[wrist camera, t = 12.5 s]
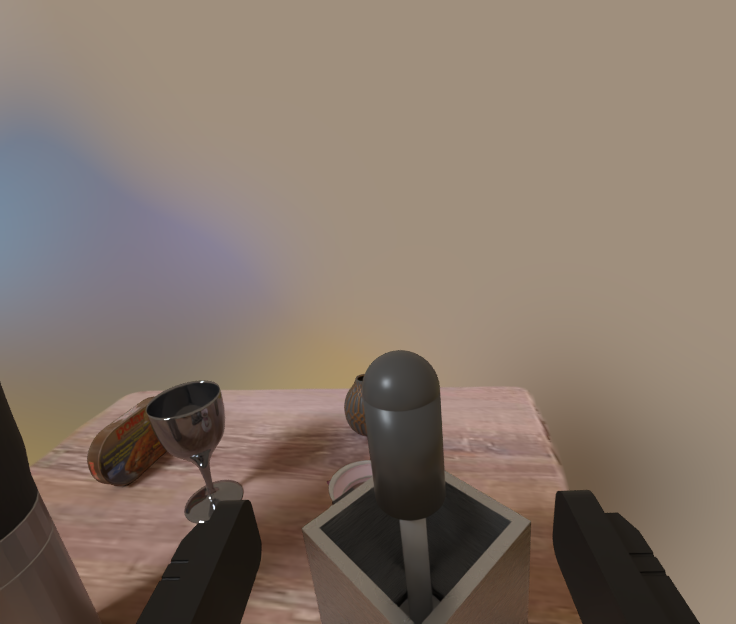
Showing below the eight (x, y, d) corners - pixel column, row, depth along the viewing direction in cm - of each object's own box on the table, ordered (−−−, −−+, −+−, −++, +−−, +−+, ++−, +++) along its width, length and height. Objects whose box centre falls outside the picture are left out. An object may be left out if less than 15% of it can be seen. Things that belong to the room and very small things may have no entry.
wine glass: (214, 534, 47) (180, 423, 42) (166, 516, 50) (129, 411, 45) (259, 485, 53) (234, 385, 48) (214, 472, 57) (186, 377, 52)
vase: (358, 412, 67) (351, 364, 64) (398, 418, 64) (393, 368, 61) (340, 438, 61) (332, 387, 58) (383, 446, 58) (377, 392, 55)
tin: (113, 500, 54) (92, 447, 51) (95, 497, 55) (73, 445, 52) (189, 430, 67) (176, 385, 64) (174, 429, 68) (160, 384, 65)
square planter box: (282, 690, 32) (237, 530, 26) (419, 555, 41) (407, 418, 36) (446, 970, 20) (426, 787, 15) (585, 692, 30) (604, 518, 24)
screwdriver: (351, 663, 30) (294, 361, 22) (421, 589, 35) (396, 317, 26) (432, 769, 24) (398, 414, 16) (504, 664, 29) (505, 346, 21)
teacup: (438, 502, 48) (436, 459, 46) (407, 599, 37) (401, 549, 35) (347, 481, 53) (341, 441, 50) (297, 562, 42) (286, 516, 40)
